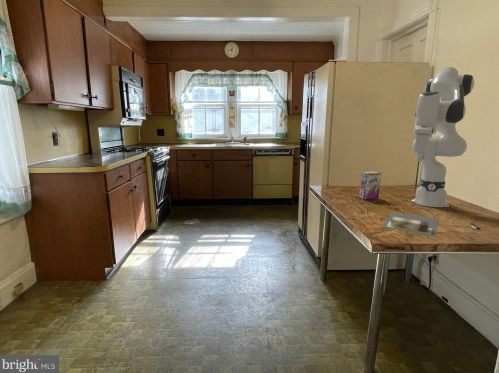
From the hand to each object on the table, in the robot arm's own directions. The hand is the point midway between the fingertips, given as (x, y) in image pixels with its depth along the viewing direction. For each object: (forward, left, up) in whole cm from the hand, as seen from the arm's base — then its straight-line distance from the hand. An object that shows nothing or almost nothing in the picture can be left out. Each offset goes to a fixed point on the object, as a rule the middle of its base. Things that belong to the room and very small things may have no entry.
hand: (420, 160), depth 135 cm
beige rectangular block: (+15, 0, -28) cm, 32 cm away
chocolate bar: (-10, +19, -29) cm, 36 cm away
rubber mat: (+7, 0, -29) cm, 30 cm away
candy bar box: (-33, -27, -29) cm, 52 cm away
